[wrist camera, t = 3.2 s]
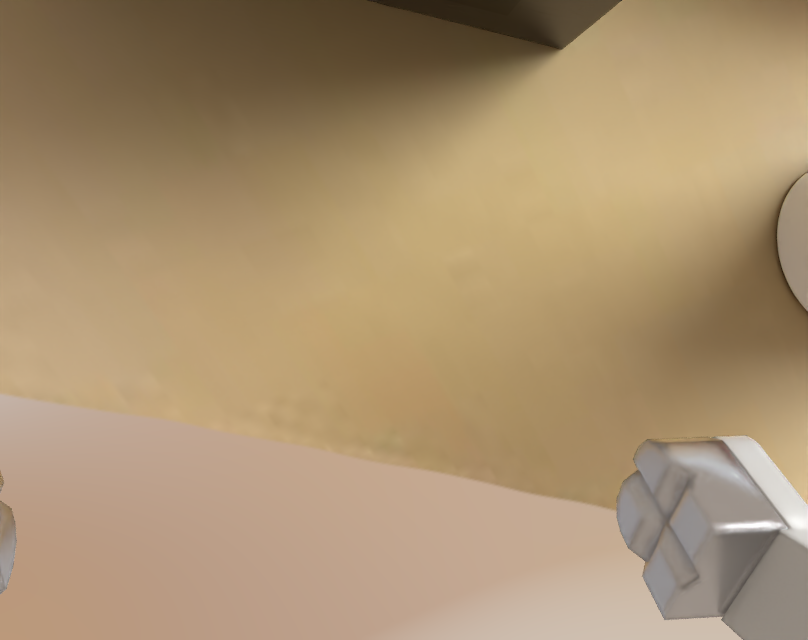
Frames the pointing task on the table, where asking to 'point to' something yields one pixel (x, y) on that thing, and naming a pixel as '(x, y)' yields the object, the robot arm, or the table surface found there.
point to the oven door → (517, 16)
